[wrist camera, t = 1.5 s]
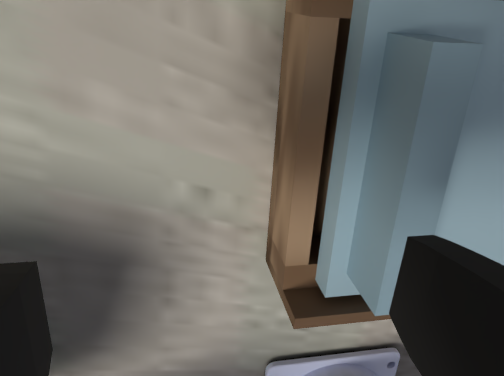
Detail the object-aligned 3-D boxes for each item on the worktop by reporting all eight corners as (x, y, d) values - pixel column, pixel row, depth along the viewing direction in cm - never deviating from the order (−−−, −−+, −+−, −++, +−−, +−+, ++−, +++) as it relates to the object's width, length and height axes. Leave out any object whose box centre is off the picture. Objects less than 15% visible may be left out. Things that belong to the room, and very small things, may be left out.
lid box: (523, 242, 24) (601, 296, 20) (265, 260, 21) (293, 329, 17) (615, -15, 19) (748, -14, 15) (289, -39, 16) (338, -47, 12)
